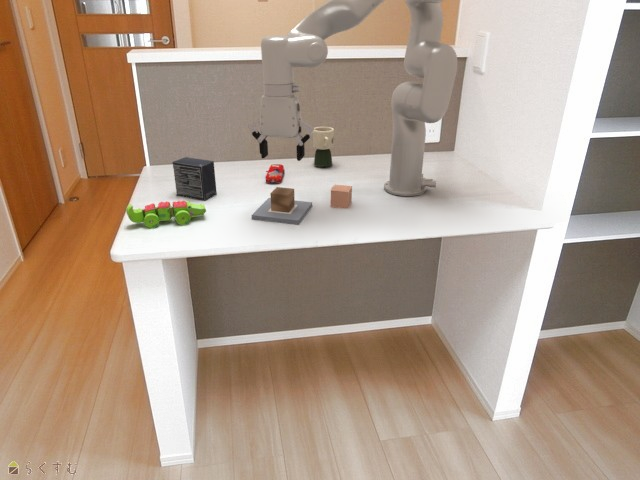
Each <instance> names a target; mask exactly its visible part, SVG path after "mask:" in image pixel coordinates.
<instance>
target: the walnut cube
mask: <svg viewBox="0 0 640 480" xmlns="http://www.w3.org/2000/svg"><path fill="white" fill-rule="evenodd" d="M269 196H270V198H271V211H278V212H287V213H289V212H290V211H291V210H292V208H293V207H294V206H295V201H296V200H295V188H289V187H281V186H276V187H275V188H274V189H273V190H272V191H271V192H270V195H269Z"/></svg>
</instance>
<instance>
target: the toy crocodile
mask: <svg viewBox="0 0 640 480" xmlns="http://www.w3.org/2000/svg"><path fill="white" fill-rule="evenodd" d="M133 207H134V206H133V204H132V203H130V204H128V205H127V206H126V208H125V209H126V210H125V212H126V214H127V216H128V219H129V220H130V221H131V222H132V223H134V224H140V223H144V226H145V227H147V228H148V229H155V228H157V227H158V226H159V224H160V222H164V221H171V220H172V219H173V218H174V220H175V221H176V223H177V224H178V225H180V226H186V225H188V224H189V223H190V221H191V219H192V218H197V217H203V216H204V215H205V213H207V209H206V206H205V204H202V203H201V204H198V203H191V202H190V201H188V200H187V201H186V200H178V201H172V206H171V202H170V201H165V202H164V201H160V202H158V205H157V206H156V205H155V203H150V204H147V205H145V206H144V208H140V207H139V208H135V209H134V208H133ZM154 227H155V228H154Z"/></svg>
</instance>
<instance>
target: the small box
mask: <svg viewBox="0 0 640 480" xmlns="http://www.w3.org/2000/svg"><path fill="white" fill-rule="evenodd" d="M214 163H215V161H214V160H208V159H201V158H196V157H195V158H193V157H189V156H188V157H186V156H185V157H181V158H180V159H176V160H174V161H172V168H173V174H174V175H173V176H174V181H175V182H174V183H175V190H176V197H182V198H188V199H192V200H193V199H194V200H197V201H203V202H205V201H207V200H209V199H211V198H213V197H214V196H216V195H217V193H218V192H217V183H216V172H215V164H214Z"/></svg>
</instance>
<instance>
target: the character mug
mask: <svg viewBox="0 0 640 480" xmlns="http://www.w3.org/2000/svg"><path fill="white" fill-rule="evenodd" d="M334 132H335V129H334V128H333V127H330V126H316V127H314V131H313V133H312V147H313V148H314V149H316V150H315V153H314V161H313V165H314V166H316V167H323V168H326V167H332V165H333V158H332V151H331V149H332V148H333V147H334V146H335V145H334V140H335V138H334V137H335V135H334V134H335V133H334Z"/></svg>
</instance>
